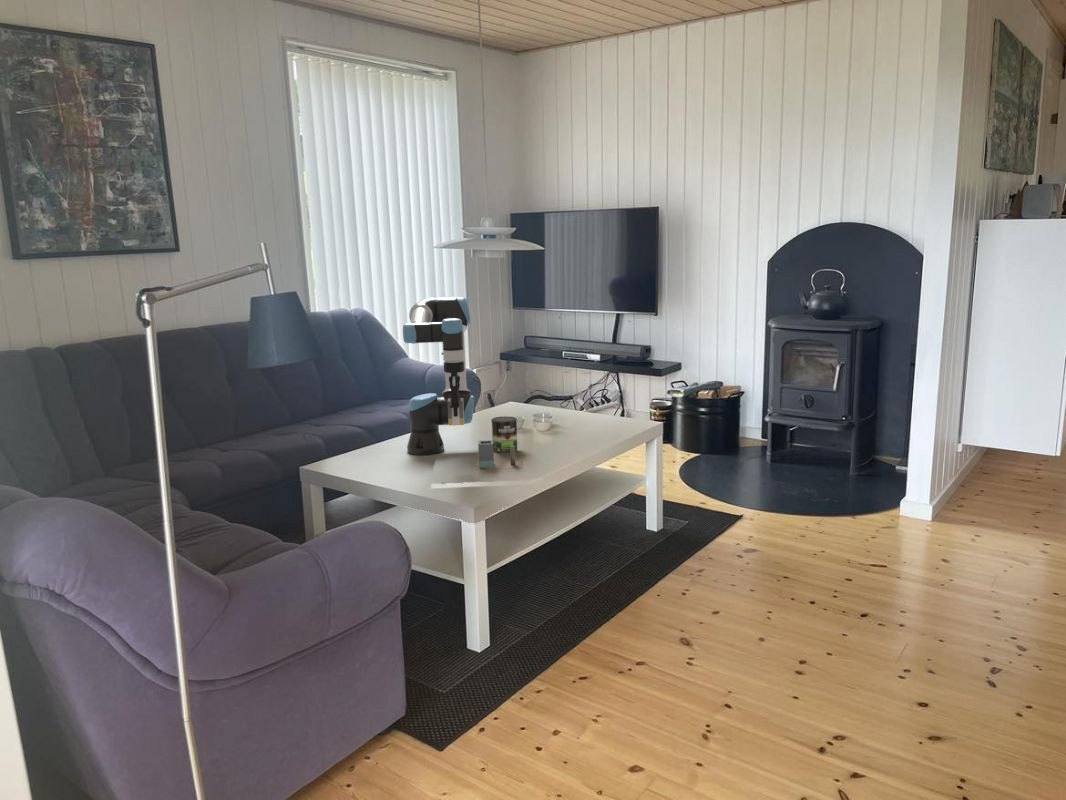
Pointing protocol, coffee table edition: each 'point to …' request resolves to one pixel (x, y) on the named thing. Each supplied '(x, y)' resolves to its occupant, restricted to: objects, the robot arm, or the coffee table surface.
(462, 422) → the sleeve ochre
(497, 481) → the coffee table surface
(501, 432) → the coffee can
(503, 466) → the pin board
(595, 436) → the coffee table surface
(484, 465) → the sleeve teal
